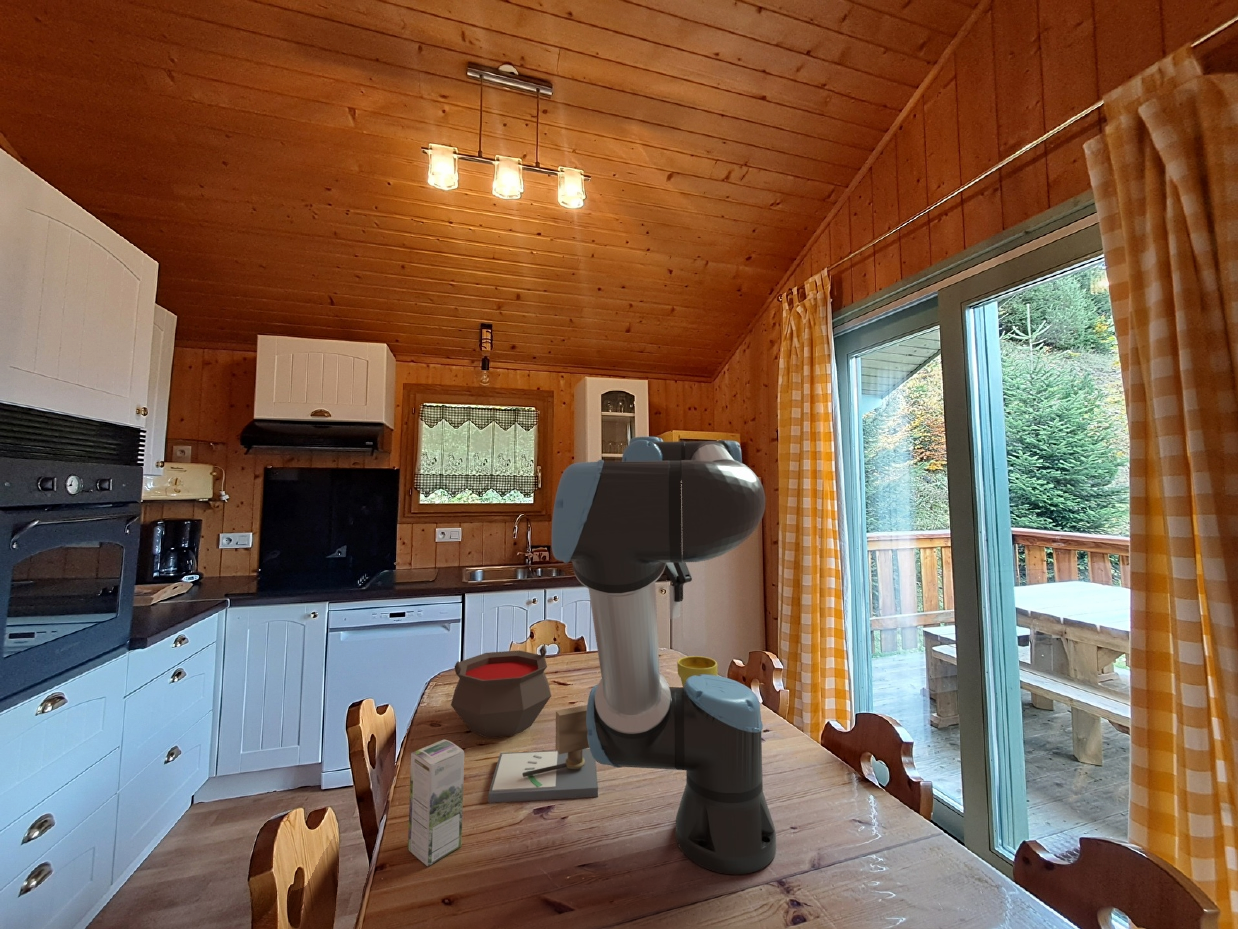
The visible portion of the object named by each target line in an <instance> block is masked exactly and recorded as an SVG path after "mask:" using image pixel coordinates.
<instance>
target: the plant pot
mask: <svg viewBox="0 0 1238 929" xmlns="http://www.w3.org/2000/svg"><path fill="white" fill-rule="evenodd" d="M676 663H677V667H676V668H677V676H679V678H680V680H681V685H682V687H683V688H684V684H685V683H686V680H687V679H688V678H689V677H691V676H694V675H696V676H699V675H715V676H718V661H716V660H715V659H713V658H711V657H709V656H708V657H707V656H701V655H689V656H683V657H681V658H679V659H678V660H677V662H676Z"/></svg>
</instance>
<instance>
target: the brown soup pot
mask: <svg viewBox="0 0 1238 929" xmlns="http://www.w3.org/2000/svg"><path fill="white" fill-rule="evenodd" d="M539 653H540V654H539ZM539 653H538V654H537V653H533V652H528V651H525V650H520V649H519V650H508V651H507V650H506V651H495V652H494V651H493V652H484V653H481V654H479V655H475V656H473V657H469V658H467V659H463V660H462V661H457V662H456V663H455V665H454V667H453V668H454V671H455V674H456V676H457V677H458V678H459V679H458V681H457V683H456V686H455V689H454V692H453V695H452V699H451V703H450V707H452V709H454V711H455V713H457V714H458V716H459V718H460V719H461V720H462V721H463V722H464V724H465V725H466V726H467V728H468V729H469V730H470V732H471V733H473V734H477V735H480V736H481V737H485V738H487V739H494V738H505V737H513V736H516V735H518V734H520V733H522V732H523V731H525V730H527V729H528V728H530V727H532V725H534V723H535V721H536V720H537V718H538V717H539V715H540V714H541V712H542V710H543V709H544V707H545V706H546V705H547V703H548V701H550V699H551V697H552V693H551V689H550V684H549V681H548V678H547V676H546V674H545V671H546V669H547V668H548V664H547V660H546V656H545V655H546V654H547V649H546V646H545V645H544V644H543V645H542V646H541V647H540V649H539Z"/></svg>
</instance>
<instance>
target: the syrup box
mask: <svg viewBox="0 0 1238 929" xmlns="http://www.w3.org/2000/svg"><path fill="white" fill-rule="evenodd" d="M464 768H465V751H464V750H463V749H462V748H461V747H460V746H458V745H457V744H455V743H454V742H452V741H450V740H447V739H442V740H439V741H437V742H434V743H432V744H430V745H426V746H425V747H422V748H420V749H417V750H415V751H412V752H411V755H410V777H409V778H410V780H409V809H408V837H407V838H408V839H407V849H408V852H410V853H411V854H412V855H414V857H416V858H417V859H418V860H419V861H420V862H422V863H423V864H424V865H425V866H426V867H430V866H432V865H433V864H435V863H436V862H438V861H439V860H441V859H443V858H444V857H447V856H448V855H450V854H451V853H453V852H454V851H456V850H458V849H459V848H461V847H462V842H463V841H462V837H463V811H464V810H463V809H464V808H463V805H464V803H463V802H464V800H463V799H464V778H465V776H464V775H465V774H464V773H465V769H464Z"/></svg>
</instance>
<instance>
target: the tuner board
mask: <svg viewBox="0 0 1238 929" xmlns="http://www.w3.org/2000/svg"><path fill="white" fill-rule="evenodd" d="M582 757H583V758H584V760H585V764H584V766H583V767H581V768H579V769H570V768H568V767H564V768H560V769H556V770H552V771H547V772H543V773H539V774H534V775H530V776H526V777H523V773H524V772H528V771H533V770H537V769H541V768H546V767H550V766H555V765H559V764H563V763H566V759H567V758H568V753H564V754H559V753H558V752H557V750H556V749H555V750H536V751H520V752H519V751H517V752H500V753H499V756H498V759H497V762H496V763H497V764H496V766H495V770H494V773H493V776H492V777H493V778H492V780H491V784H490V787H489V791H488V797H487V798H488V803H489V804H492V803H493V804H494V803H506V802H507V803H509V802H524V801H528V802H529V801H543V800H544V801H545V800H558V799H559V800H561V799H563V800H564V799H577V798H578V799H579V798H582V799H583V798H595V797H597V798H598V797H599V784H598V773H597V772H598V771H597V761H596V760H595V759H594V758H593V756H592V754H591V752H590V748H587V749H582Z"/></svg>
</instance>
